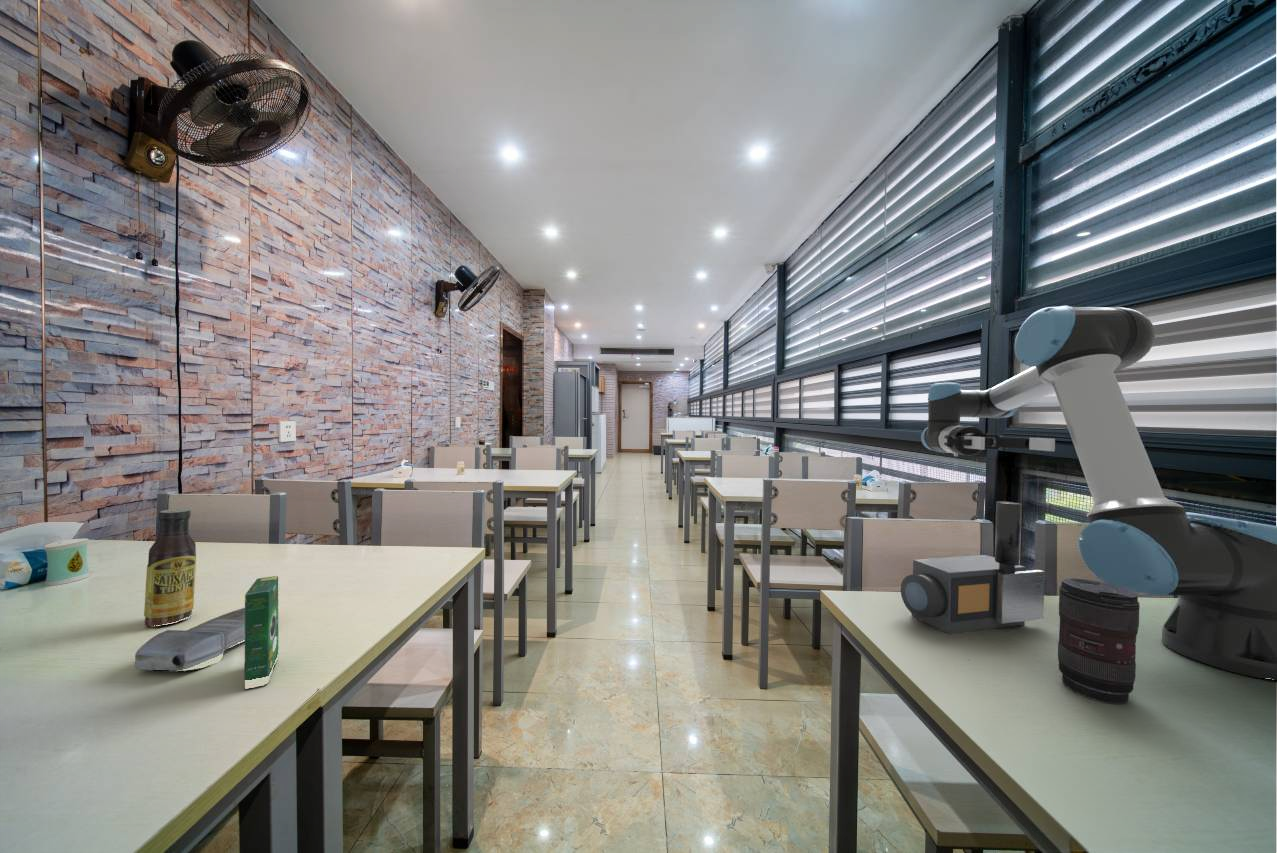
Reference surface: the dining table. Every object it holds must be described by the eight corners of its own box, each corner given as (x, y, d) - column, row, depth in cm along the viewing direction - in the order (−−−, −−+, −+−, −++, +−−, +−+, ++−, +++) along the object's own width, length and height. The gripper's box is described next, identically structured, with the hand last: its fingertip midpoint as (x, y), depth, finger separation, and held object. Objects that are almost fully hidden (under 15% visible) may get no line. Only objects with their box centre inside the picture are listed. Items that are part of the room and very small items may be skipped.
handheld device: (300, 619, 85) (300, 594, 84) (190, 681, 64) (190, 649, 64) (249, 617, 85) (249, 592, 85) (124, 679, 65) (124, 646, 65)
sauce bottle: (149, 632, 78) (150, 515, 78) (139, 623, 81) (139, 511, 81) (201, 618, 84) (201, 509, 83) (189, 610, 87) (190, 505, 87)
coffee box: (255, 663, 69) (255, 576, 69) (279, 659, 70) (280, 573, 70) (242, 691, 62) (242, 594, 62) (269, 685, 63) (269, 591, 63)
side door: (1030, 613, 89) (1033, 500, 88) (1050, 621, 85) (1054, 503, 85) (988, 618, 86) (991, 501, 86) (1007, 626, 83) (1011, 505, 82)
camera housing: (983, 607, 95) (985, 554, 95) (1025, 624, 87) (1027, 567, 87) (898, 616, 90) (899, 560, 90) (934, 635, 82) (936, 574, 82)
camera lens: (1154, 711, 61) (1157, 599, 61) (1082, 703, 63) (1086, 594, 62) (1105, 678, 69) (1108, 579, 69) (1043, 671, 70) (1046, 574, 70)
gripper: (1014, 456, 118) (1082, 463, 97) (910, 453, 121) (953, 459, 100) (1015, 426, 118) (1083, 427, 97) (911, 425, 121) (954, 425, 100)
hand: (1017, 444), depth 98 cm, fingers open, 13 cm apart
